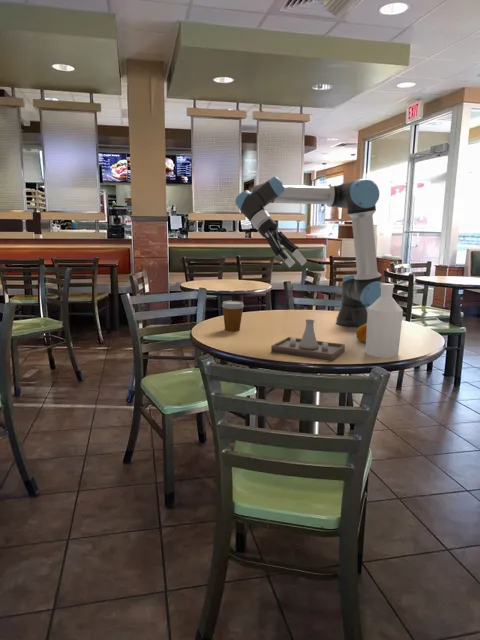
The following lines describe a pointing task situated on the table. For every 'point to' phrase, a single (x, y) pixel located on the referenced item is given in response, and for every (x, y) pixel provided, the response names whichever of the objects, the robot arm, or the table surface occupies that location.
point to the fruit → (361, 333)
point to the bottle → (384, 325)
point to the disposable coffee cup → (232, 315)
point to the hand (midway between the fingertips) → (298, 264)
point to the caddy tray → (322, 353)
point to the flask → (309, 336)
